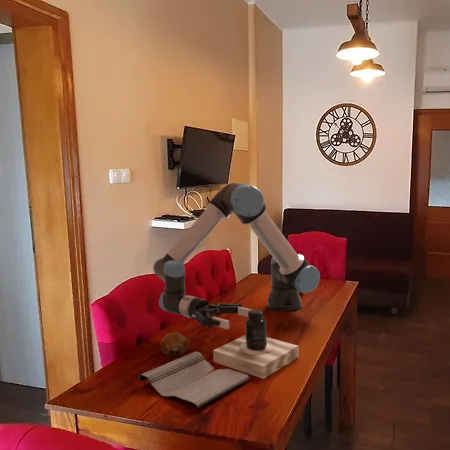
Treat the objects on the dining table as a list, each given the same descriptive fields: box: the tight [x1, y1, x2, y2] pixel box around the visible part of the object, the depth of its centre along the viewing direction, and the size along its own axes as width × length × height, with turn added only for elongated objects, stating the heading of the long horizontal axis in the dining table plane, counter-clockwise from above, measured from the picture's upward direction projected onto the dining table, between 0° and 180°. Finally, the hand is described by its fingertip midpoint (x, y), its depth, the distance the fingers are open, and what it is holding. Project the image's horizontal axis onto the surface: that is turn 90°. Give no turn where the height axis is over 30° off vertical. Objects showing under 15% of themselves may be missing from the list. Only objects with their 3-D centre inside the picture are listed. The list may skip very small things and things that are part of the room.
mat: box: [138, 351, 251, 409], centre depth 145 cm, size 23×24×5 cm
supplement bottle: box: [245, 309, 268, 350], centre depth 160 cm, size 7×7×12 cm
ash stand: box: [212, 334, 300, 380], centre depth 161 cm, size 20×20×4 cm
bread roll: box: [159, 332, 189, 357], centre depth 170 cm, size 10×10×8 cm
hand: (241, 319), depth 163 cm, fingers open, 13 cm apart
